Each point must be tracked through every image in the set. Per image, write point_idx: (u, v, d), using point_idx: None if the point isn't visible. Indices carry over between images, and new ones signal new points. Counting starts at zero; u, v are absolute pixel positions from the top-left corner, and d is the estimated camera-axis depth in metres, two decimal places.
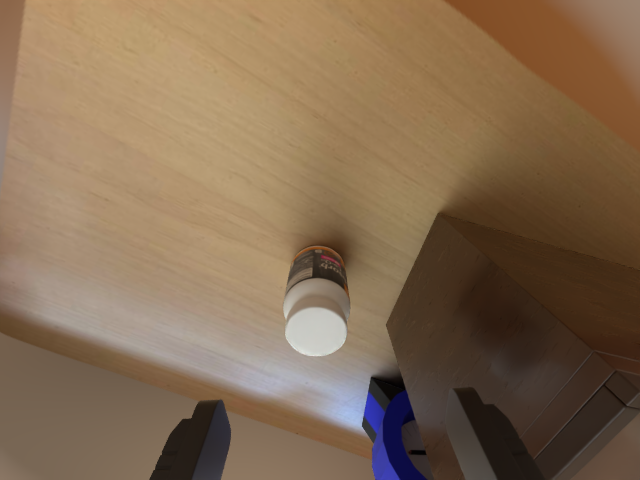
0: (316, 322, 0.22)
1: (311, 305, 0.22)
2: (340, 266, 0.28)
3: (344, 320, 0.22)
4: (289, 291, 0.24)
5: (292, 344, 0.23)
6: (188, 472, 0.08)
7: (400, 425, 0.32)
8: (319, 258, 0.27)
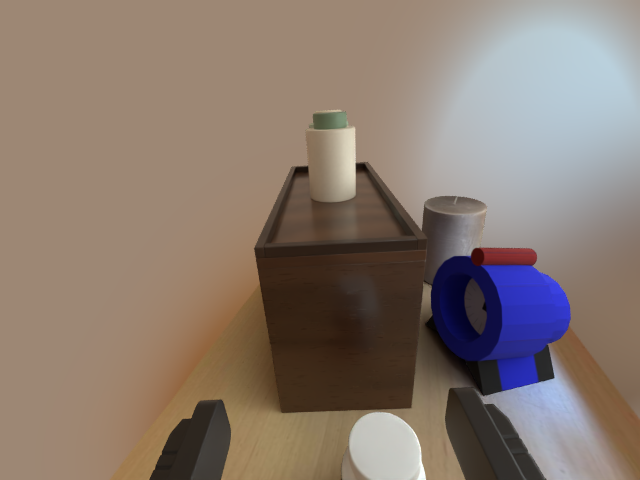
0: (369, 448, 0.19)
1: (353, 463, 0.19)
2: None
3: None
4: None
5: (414, 468, 0.18)
6: (188, 472, 0.08)
7: (479, 338, 0.33)
8: None
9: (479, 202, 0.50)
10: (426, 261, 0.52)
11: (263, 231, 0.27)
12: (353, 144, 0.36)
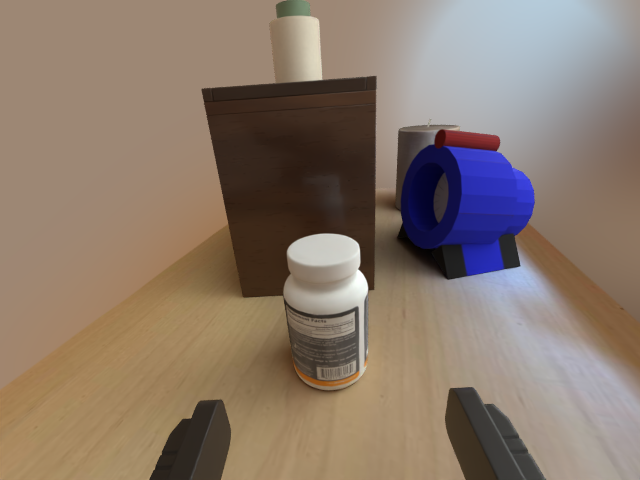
0: (307, 250, 0.19)
1: (288, 259, 0.18)
2: None
3: None
4: (309, 311, 0.18)
5: (349, 256, 0.18)
6: (188, 472, 0.08)
7: (442, 220, 0.32)
8: (289, 336, 0.21)
9: (453, 125, 0.50)
10: (401, 188, 0.52)
11: None
12: (317, 37, 0.36)
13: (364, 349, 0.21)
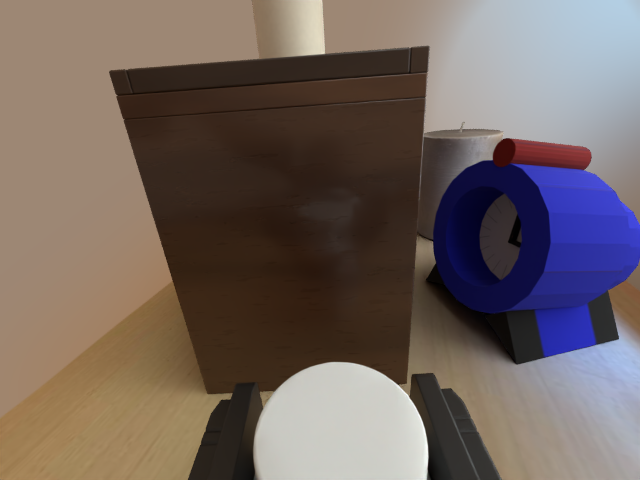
0: (302, 436, 0.08)
1: (256, 474, 0.07)
2: None
3: None
4: None
5: None
6: (235, 446, 0.09)
7: (508, 275, 0.21)
8: None
9: (492, 130, 0.39)
10: (425, 209, 0.41)
11: None
12: (319, 7, 0.25)
13: None
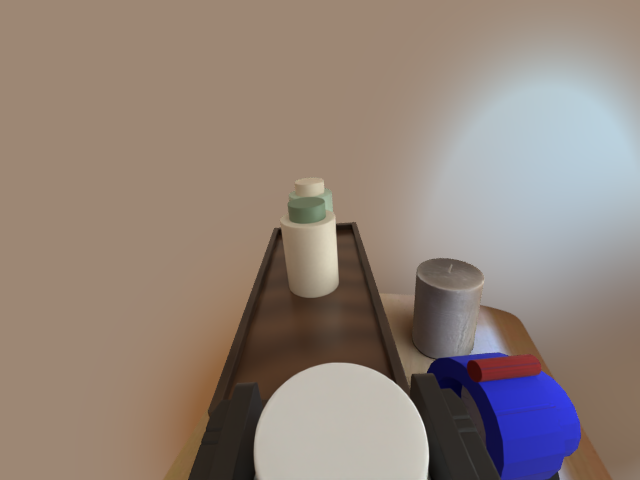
0: (303, 436, 0.08)
1: (256, 475, 0.07)
2: None
3: None
4: None
5: None
6: (235, 445, 0.09)
7: None
8: None
9: (476, 270, 0.46)
10: (420, 331, 0.49)
11: (224, 371, 0.24)
12: (333, 236, 0.32)
13: None
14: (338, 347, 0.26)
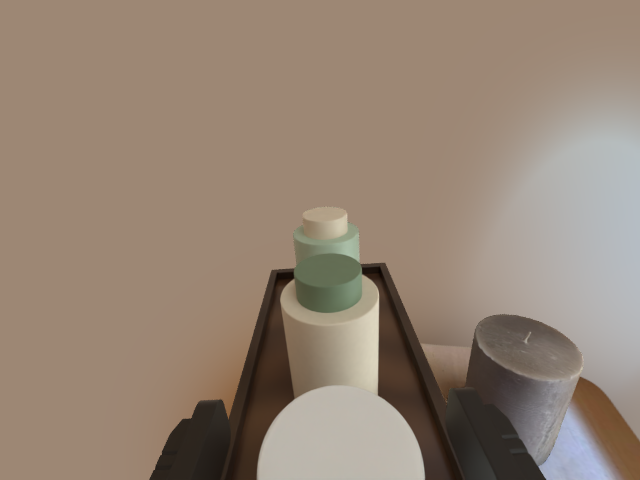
0: (304, 463, 0.08)
1: None
2: None
3: None
4: None
5: None
6: (188, 472, 0.08)
7: None
8: None
9: (564, 339, 0.32)
10: None
11: None
12: (376, 330, 0.18)
13: None
14: None
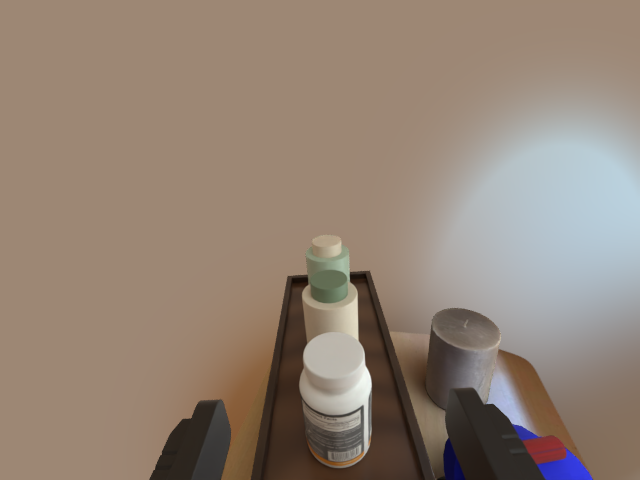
0: (320, 355, 0.23)
1: (305, 366, 0.22)
2: None
3: None
4: (322, 411, 0.22)
5: (356, 366, 0.21)
6: (188, 472, 0.08)
7: None
8: None
9: (491, 324, 0.46)
10: (434, 383, 0.48)
11: (253, 478, 0.23)
12: (356, 313, 0.32)
13: (368, 433, 0.24)
14: None
